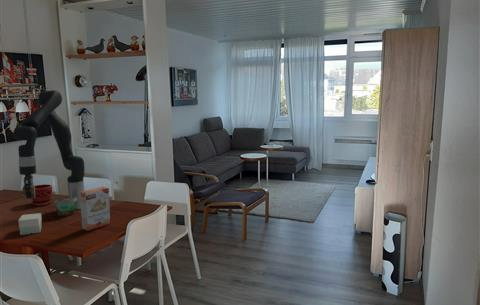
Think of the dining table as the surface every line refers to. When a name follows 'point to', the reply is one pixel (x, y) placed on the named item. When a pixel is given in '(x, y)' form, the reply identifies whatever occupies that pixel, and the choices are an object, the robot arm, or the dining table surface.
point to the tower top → (30, 220)
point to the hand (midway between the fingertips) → (29, 196)
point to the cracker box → (95, 208)
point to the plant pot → (42, 195)
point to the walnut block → (31, 192)
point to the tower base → (30, 229)
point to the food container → (66, 207)
